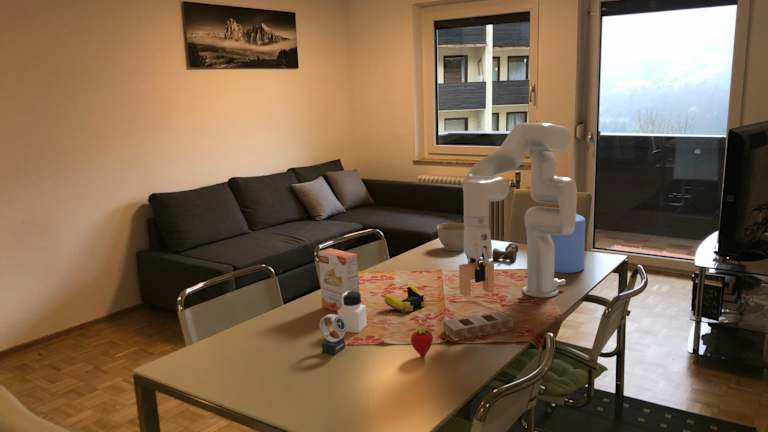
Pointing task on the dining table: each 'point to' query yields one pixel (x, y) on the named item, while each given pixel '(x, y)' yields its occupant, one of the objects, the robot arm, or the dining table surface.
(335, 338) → the watch
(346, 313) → the medicine bottle
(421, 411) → the dining table surface
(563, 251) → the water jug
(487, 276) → the peach block
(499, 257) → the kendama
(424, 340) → the strawberry
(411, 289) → the gaming controller
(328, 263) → the cracker box
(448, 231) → the planter bowl
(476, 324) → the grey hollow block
